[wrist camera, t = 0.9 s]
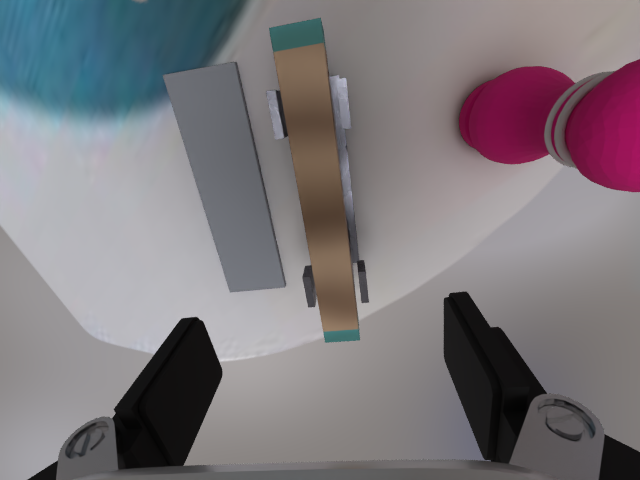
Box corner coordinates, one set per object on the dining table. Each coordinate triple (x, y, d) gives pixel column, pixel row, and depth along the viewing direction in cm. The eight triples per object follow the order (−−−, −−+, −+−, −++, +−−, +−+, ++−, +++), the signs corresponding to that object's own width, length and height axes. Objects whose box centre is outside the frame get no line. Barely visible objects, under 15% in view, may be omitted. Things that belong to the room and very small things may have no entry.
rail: (278, 38, 20) (268, 28, 17) (323, 30, 20) (320, 17, 17) (326, 320, 29) (325, 342, 26) (358, 318, 29) (359, 340, 26)
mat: (166, 75, 29) (162, 75, 28) (236, 62, 28) (234, 61, 27) (231, 289, 38) (230, 292, 38) (285, 284, 37) (285, 287, 37)
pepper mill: (538, 140, 29) (873, 198, 11) (460, 166, 30) (639, 256, 12) (530, 58, 26) (957, -51, 8) (446, 90, 28) (646, 60, 10)
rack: (288, 84, 28) (262, 74, 19) (343, 75, 28) (344, 59, 19) (318, 263, 36) (310, 316, 27) (362, 258, 35) (369, 312, 26)
